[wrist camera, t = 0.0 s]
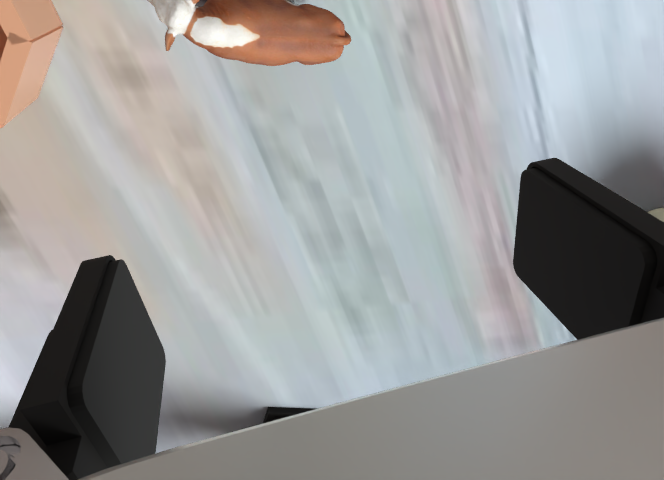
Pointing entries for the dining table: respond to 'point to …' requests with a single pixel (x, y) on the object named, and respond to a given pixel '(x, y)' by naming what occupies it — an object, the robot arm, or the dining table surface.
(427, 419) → the robot arm
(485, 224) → the dining table surface
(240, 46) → the bull figurine
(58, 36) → the bowl
